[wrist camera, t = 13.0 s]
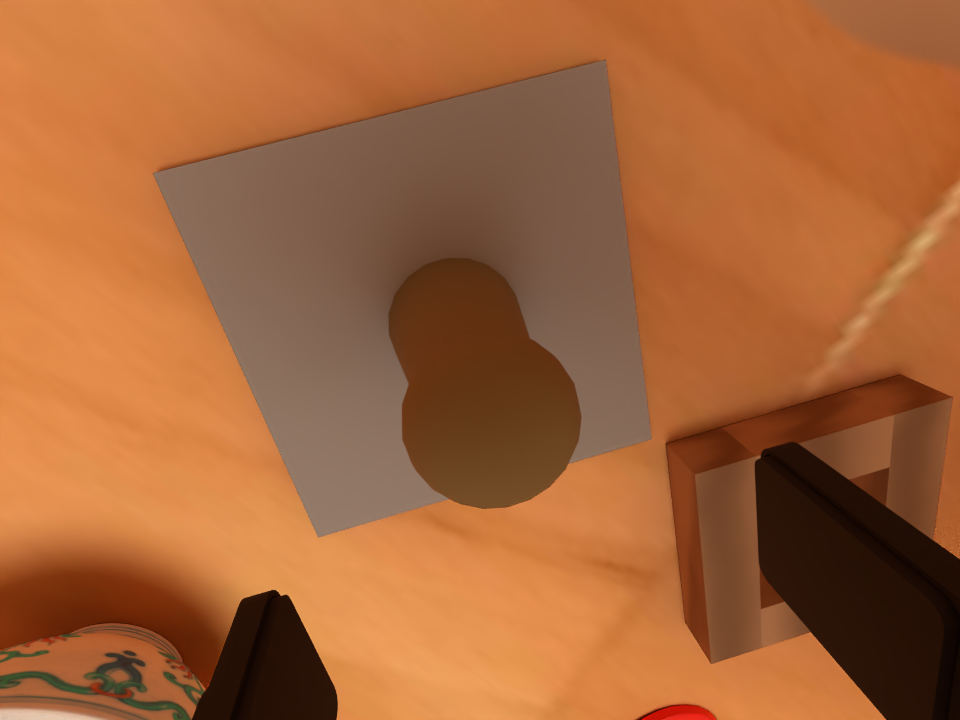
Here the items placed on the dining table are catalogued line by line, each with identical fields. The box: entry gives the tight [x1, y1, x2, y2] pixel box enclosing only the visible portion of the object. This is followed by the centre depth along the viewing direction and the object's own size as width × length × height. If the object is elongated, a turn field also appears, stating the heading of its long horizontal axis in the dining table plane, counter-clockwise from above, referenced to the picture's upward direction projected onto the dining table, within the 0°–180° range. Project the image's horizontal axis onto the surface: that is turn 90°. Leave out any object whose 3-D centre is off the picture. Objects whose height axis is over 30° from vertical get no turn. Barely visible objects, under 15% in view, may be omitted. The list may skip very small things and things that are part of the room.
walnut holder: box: [666, 375, 953, 664], centre depth 31 cm, size 14×14×3 cm
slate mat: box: [153, 60, 652, 537], centre depth 24 cm, size 18×18×1 cm
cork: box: [388, 258, 582, 509], centre depth 19 cm, size 6×6×11 cm
